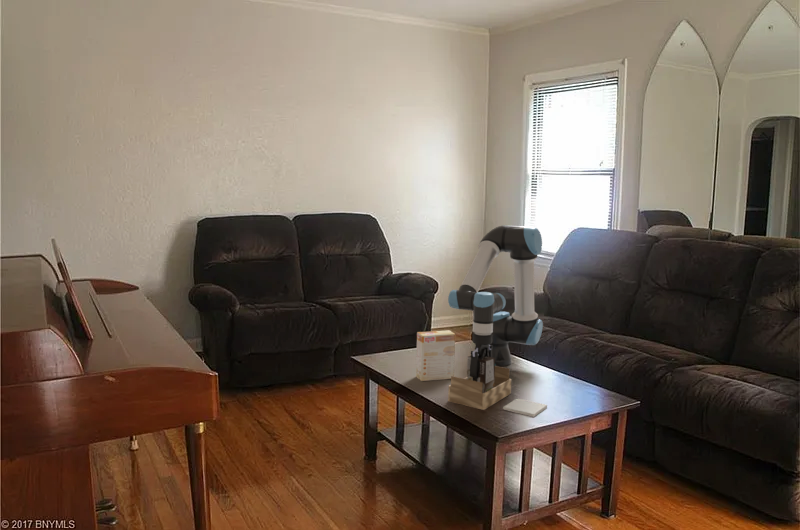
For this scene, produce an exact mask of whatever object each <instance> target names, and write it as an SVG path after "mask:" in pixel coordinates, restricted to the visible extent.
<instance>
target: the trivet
mask: <svg viewBox="0 0 800 530" xmlns="http://www.w3.org/2000/svg"><path fill="white" fill-rule="evenodd" d="M547 408H548V404H545V403H544V404H543V403H540V402H536V401H532V400H527V399H523V398H516V399H513V400H512V401H511V402H509V403H507V404H505V405H504V406H503V409H502V410H504V411H506V412H507V411H509V412H513V413H516V414H521V415H525V416H527V417H528V416H530V417H533V418H535V417H536V416H537V415H539V414H541V413H542V412H543V411H544V410H546V409H547Z"/></svg>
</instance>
